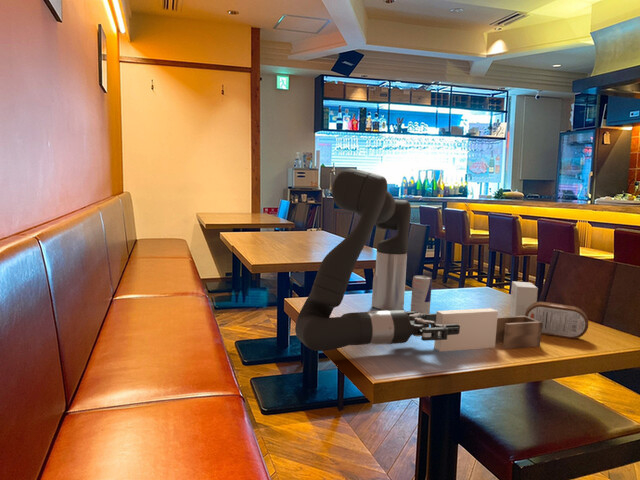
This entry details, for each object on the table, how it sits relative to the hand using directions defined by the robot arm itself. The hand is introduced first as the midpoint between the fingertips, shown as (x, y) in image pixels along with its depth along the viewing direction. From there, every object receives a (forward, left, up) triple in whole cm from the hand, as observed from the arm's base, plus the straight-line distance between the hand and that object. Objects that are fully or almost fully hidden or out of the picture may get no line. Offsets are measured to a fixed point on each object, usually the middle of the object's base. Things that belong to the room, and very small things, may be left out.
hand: (448, 323), depth 110 cm
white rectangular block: (+4, +3, -6) cm, 8 cm away
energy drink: (-11, +22, -6) cm, 25 cm away
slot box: (+14, +12, -6) cm, 20 cm away
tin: (+24, +25, -6) cm, 36 cm away
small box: (+16, +37, -6) cm, 41 cm away
